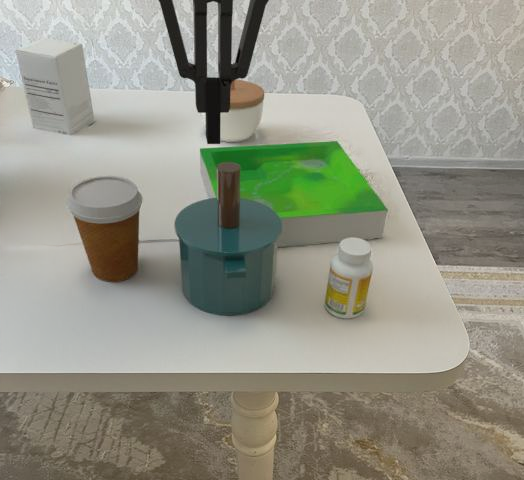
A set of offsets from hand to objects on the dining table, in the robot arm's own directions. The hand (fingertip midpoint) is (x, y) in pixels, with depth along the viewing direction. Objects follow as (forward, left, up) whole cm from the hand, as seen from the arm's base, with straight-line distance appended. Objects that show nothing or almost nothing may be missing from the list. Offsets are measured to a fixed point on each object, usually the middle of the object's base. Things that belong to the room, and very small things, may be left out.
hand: (212, 139), depth 69 cm
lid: (+2, -2, -10) cm, 11 cm away
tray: (+14, +20, -20) cm, 31 cm away
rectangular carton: (-25, +55, -20) cm, 64 cm away
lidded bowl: (+8, +48, -20) cm, 52 cm away
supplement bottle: (+17, -8, -20) cm, 27 cm away
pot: (+2, -2, -20) cm, 20 cm away
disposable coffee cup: (-14, +3, -20) cm, 25 cm away
